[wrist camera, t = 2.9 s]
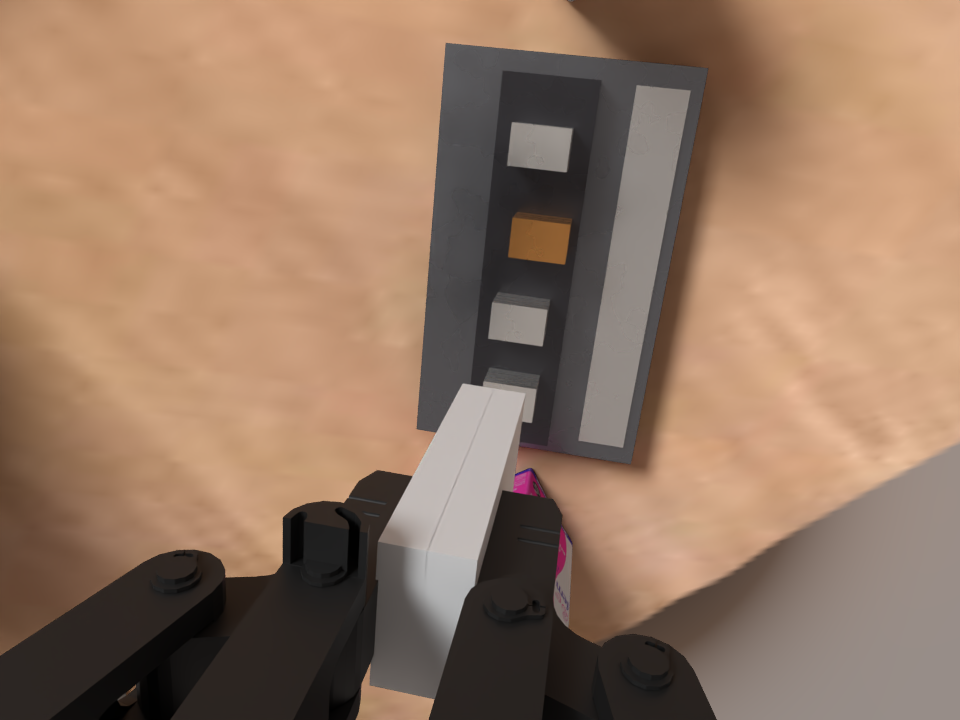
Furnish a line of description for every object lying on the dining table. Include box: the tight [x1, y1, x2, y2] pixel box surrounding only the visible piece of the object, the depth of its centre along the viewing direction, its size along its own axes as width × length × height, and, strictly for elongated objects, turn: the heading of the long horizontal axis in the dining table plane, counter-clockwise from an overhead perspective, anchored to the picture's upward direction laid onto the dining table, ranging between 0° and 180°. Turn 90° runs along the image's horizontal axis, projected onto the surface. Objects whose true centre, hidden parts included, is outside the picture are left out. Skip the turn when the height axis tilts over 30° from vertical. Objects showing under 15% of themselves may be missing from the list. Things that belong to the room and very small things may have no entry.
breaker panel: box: [417, 43, 708, 464], centre depth 35 cm, size 20×12×6 cm, turn 174°
